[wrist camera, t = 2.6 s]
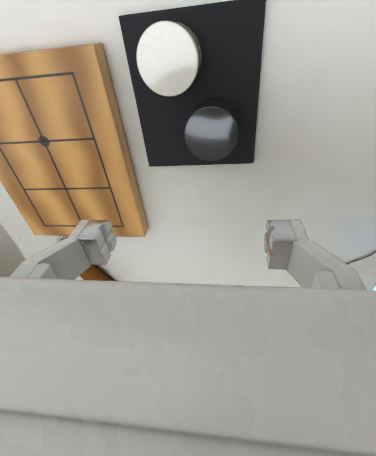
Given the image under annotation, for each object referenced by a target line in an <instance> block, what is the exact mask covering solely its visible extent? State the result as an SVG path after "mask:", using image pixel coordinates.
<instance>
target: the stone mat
mask: <svg viewBox="0 0 376 456" xmlns="http://www.w3.org/2000/svg"><path fill="white" fill-rule="evenodd" d="M265 2H266V0H233V1H226V2H219V3H211V4H204V5H197V6H189V7H182V8H174V9H167V10H160V11H152V12H145V13H137V14H130V15H123V16H119V20H120V25H121V30H122V35H123V40H124V45H125V49H126V54H127V59H128V64H129V69H130V74H131V79H132V84H133V89H134V93H135V98H136V103H137V108H138V113H139V118H140V123H141V128H142V133H143V137H144V142H145V147H146V152H147V157H148V162H149V166H179V165H211V164H243V163H253V161H254V147H255V134H256V121H257V108H258V95H259V81H260V68H261V55H262V42H263V29H264V15H265ZM159 21H176V22H180V23H183V24H185V25H186V26H188V27H189V28H190V29H191V30H192V31H193V32H194V33H195V35H196V37H197V39H198V41H199V43H200V47H201V52H202V61H201V67H200V70H199V73H198V75H197V77H196V78H195V80H194V81H193V83H192V84H191V86H190V87H189V88H188V89H187V90H186V91H184V92H183V93H181V94H179V95H176V96H163V95H160V94H157V93H156V92H154V91H153V90H151V89H150V88H149V87H148V86H147V85H146V83H145V82H144V81H143V79H142V77H141V75H140V73H139V70H138V66H137V57H136V54H137V47H138V43H139V40H140V38H141V36H142V34H143V33H144V31H145V30H146V29H147V28H148V27H149V26H151V25H152V24H154V23H156V22H159ZM209 98H218V99H222V100H224V101H226V102H227V103H229V104H230V105H231V106H232V108H233V109H234V111H235V113H236V116H237V121H238V140H237V143H236V145H235V147H234V149H233V150H232V151H231V152H230V153H229V154H228V155H227V156H226V157H224V158H222V159H219V160H216V161H206V160H202V159H200V158H198V157H196V156H195V155H193V154H192V153H191V151H190V150H189V149H188V147H187V145H186V142H185V138H184V129H185V125H186V123H187V120H188V118H189V116H190V114H191V112H192V110H193V108H194V107H195V106H196V105H197V104H198V103H200V102H201V101H203V100H205V99H209Z"/></svg>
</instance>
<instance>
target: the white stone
mask: <svg viewBox="0 0 376 456" xmlns="http://www.w3.org/2000/svg"><path fill="white" fill-rule="evenodd" d="M136 57H137V66H138V70H139V73H140V75H141V77H142V79H143V81H144V82H145V83H146V85H147V86H148V87H149V88H150V89H151V90H153V91H154V92H156V93H157V94H160V95H163V96H176V95H179V94H181V93H183V92H184V91H186V90H187V89H188V88H189V87H190V86H191V84H192V83H193V81H194V80H195V78H196V77H197V75H198V73H199V70H200V67H201V61H202V52H201V47H200V43H199V41H198V39H197V37H196V35H195V33H194V32H193V31H192V30H191V29H190V28H189V27H188V26H186V25H185V24H183V23H180V22H176V21H159V22H156V23H154V24H152V25H151V26H149V27H148V28H147V29H146V30H145V31H144V33H143V34H142V36H141V38H140V40H139V43H138V47H137V54H136Z"/></svg>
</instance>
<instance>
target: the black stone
mask: <svg viewBox="0 0 376 456" xmlns="http://www.w3.org/2000/svg"><path fill="white" fill-rule="evenodd" d="M184 138H185V142H186V145H187V147H188V149H189V150H190V151H191V153H192V154H193V155H195V156H196V157H198V158H200V159H202V160H206V161H216V160H219V159H222V158H224V157H226V156H227V155H228V154H229V153H230V152H231V151H232V150H233V149H234V147H235V145H236V143H237V140H238V121H237V116H236V113H235V111H234V109H233V108H232V106H231V105H230V104H229V103H227V102H226V101H224V100H222V99H218V98H209V99H205V100H203V101H201V102H200V103H198V104H197V105H196V106H195V107H194V108H193V110H192V112H191V114H190V116H189V118H188V120H187V123H186V125H185V129H184Z"/></svg>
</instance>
